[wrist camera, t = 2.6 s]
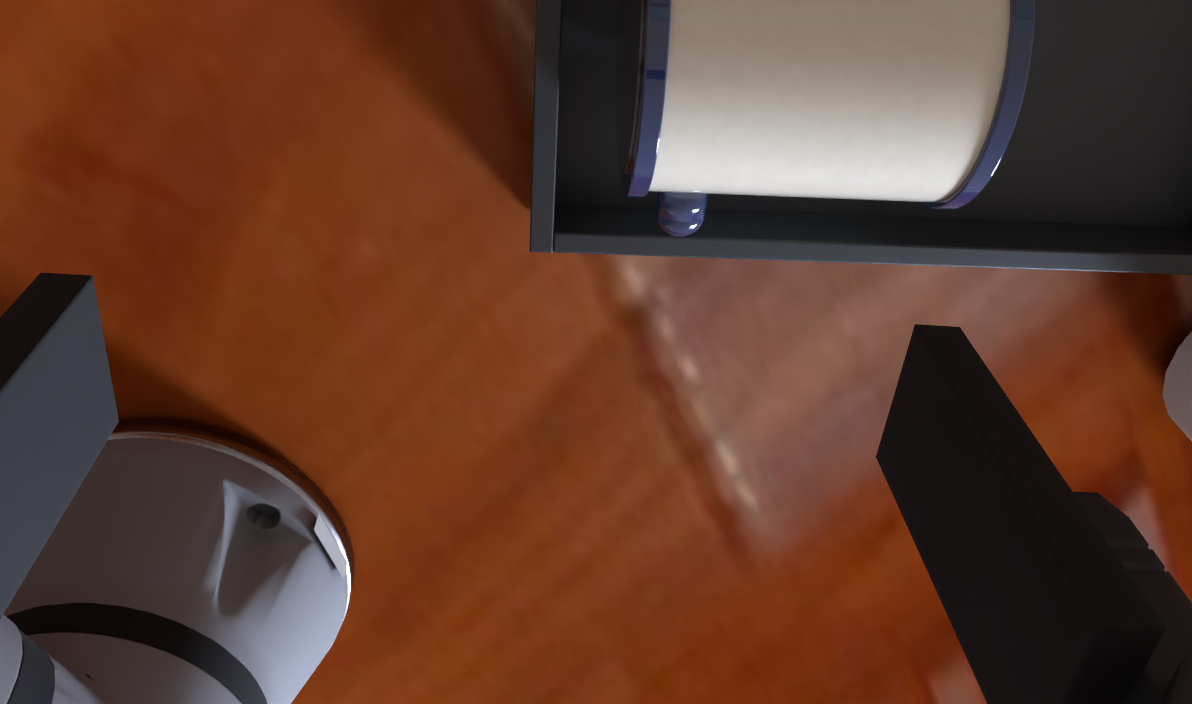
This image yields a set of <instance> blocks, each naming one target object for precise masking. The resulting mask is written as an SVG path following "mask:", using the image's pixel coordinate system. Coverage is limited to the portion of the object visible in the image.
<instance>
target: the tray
mask: <svg viewBox="0 0 1192 704" xmlns="http://www.w3.org/2000/svg"><path fill="white" fill-rule="evenodd" d="M620 4H621V0H536V32H535V69H534V107H533V144H532V182H531V219H530V252H547V253H551V252H552V251H553V252H556V253H585V254H613V255H642V256H671V257H699V258H728V259H757V260H785V261H814V262H843V263H871V264H900V265H929V266H957V267H986V268H1015V269H1043V270H1072V271H1101V272H1129V273H1158V274H1187V275H1192V0H1035V25H1034V38H1033V47H1032V55H1031V62H1030V68H1029V73H1028V79H1027V84H1026V89H1025V93H1024V97H1023V101H1022V105H1021V109H1020V112H1019V115H1018V118H1017V121H1016V125H1015V128H1014V131H1013V133H1012V136H1011V138H1010V141H1009V143H1008V146H1007V149H1006V151H1005V153H1004V155H1003V157H1002V159H1001V161H1000V163H999V165H998V167H997V169H996V170H995V172H994V174H993V175H992V177H991V179H990V180H989V181H988V183H987V184H986V186H985V187H984V188H983V190H982V191H981V192H980V193H979V194H978V195H977V196H976V197H975V198H974V199H973V200H971V201H970V202H969V203H967V204H966V205H964V206H961V207H959V208H956V209H949V210H945V209H931V208H927V207H925V206H923V205H922V204H920V203H918V202H909V201H884V200H858V199H832V198H807V197H781V196H755V195H729V194H708V198H707V206H706V215H705V219H704V221H703V223H702V225H701V226H700V228H699V229H698V230H697V231H695V232H694V233H692V234H690V235H687V236H674V235H671V234H669V233H667V232H666V231H664V230H663V229H662V227H661V226H660V225H659V223H658V221H657V218H656V202H657V192H652V191H648V193H647V195H646V196H645V197H643V198H633V197H625V196H624V195H623V192H622V189H621V184H620V176H619V168H618V159H617V142H616V84H617V55H618V35H619V18H620Z"/></svg>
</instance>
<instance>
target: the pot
mask: <svg viewBox="0 0 1192 704" xmlns="http://www.w3.org/2000/svg"><path fill="white" fill-rule="evenodd" d="M1034 25H1035V0H621V4H620V18H619V35H618V55H617V84H616V142H617V159H618V168H619V176H620V184H621V189H622V192H623V195H624V196H625V197H633V198H643V197H645V196H646V195H647V193H648V191H652V192H657V202H656V218H657V221H658V223H659V225H660V226H661V227H662V229H663V230H664V231H666V232H667V233H669V234H671V235H674V236H687V235H690V234H692V233H694V232H695V231H697V230H698V229H699V228H700V226H701V225H702V223H703V221H704V219H705V215H706V206H707V198H708V194H729V195H755V196H781V197H807V198H832V199H858V200H884V201H909V202H918V203H920V204H922V205H923V206H925V207H927V208H931V209H945V210H949V209H956V208H959V207H961V206H964V205H966V204H967V203H969V202H970V201H971V200H973V199H974V198H975V197H976V196H977V195H978V194H979V193H980V192H981V191H982V190H983V188H984V187H985V186H986V184H987V183H988V181H989V180H990V179H991V177H992V175H993V174H994V172H995V170H996V169H997V167H998V165H999V163H1000V161H1001V159H1002V157H1003V155H1004V153H1005V151H1006V149H1007V146H1008V143H1009V141H1010V138H1011V136H1012V133H1013V131H1014V128H1015V125H1016V121H1017V118H1018V115H1019V112H1020V109H1021V105H1022V101H1023V97H1024V93H1025V89H1026V84H1027V79H1028V73H1029V68H1030V62H1031V55H1032V47H1033V38H1034Z"/></svg>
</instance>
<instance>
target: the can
mask: <svg viewBox="0 0 1192 704" xmlns="http://www.w3.org/2000/svg"><path fill="white" fill-rule="evenodd" d="M1163 398H1164V402H1165V405H1166V409H1167V412H1168V415H1169V416H1170V417H1171V419H1172V420H1173V421H1174V422H1175V423H1176V424H1177V425H1178V426H1179V428H1180V429H1181V430H1182V431H1183V432H1184V433H1185V434H1186V436H1187V437H1188V438H1189V439H1190V440H1191V441H1192V332H1191V333H1190V334H1189V335H1188V336H1187V337H1186V338H1185V340H1184V341H1183V343H1182V344H1181V345H1180V346H1179V347H1178V349H1177V351H1176V353H1175V355H1174V357H1173V359H1172V361H1171V363H1170V364H1169V366H1168V368H1167V370H1166V374H1165V381H1164V388H1163Z"/></svg>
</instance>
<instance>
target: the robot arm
mask: <svg viewBox="0 0 1192 704" xmlns="http://www.w3.org/2000/svg"><path fill="white" fill-rule="evenodd" d="M876 458H877V460H878V463H879V465H880V467H881V469H882V471H883V474H884V476H885V478H886V480H887V482H888V485H889V487H890V489H891V491H892V494H893V496H894V498H895V500H896V502H897V505H898V507H899V509H900V511H901V513H902V516H903V518H904V520H905V522H906V524H907V527H908V529H909V531H910V533H911V536H912V538H913V540H914V542H915V544H916V547H917V549H918V551H919V553H920V555H921V558H922V560H923V562H924V564H925V567H926V569H927V571H928V573H929V575H930V578H931V580H932V582H933V584H934V586H935V589H936V591H937V593H938V595H939V598H940V600H941V602H942V604H943V606H944V609H945V611H946V613H947V615H948V617H949V620H950V622H951V624H952V626H953V629H954V631H955V633H956V635H957V637H958V640H959V642H960V644H961V646H962V648H963V651H964V653H965V655H966V657H967V660H968V662H969V664H970V666H971V668H972V671H973V673H974V675H975V677H976V679H977V682H978V684H979V686H980V688H981V691H982V693H983V695H984V697H985V699H986V702H987V704H1192V603H1191V602H1190V600H1189V599H1188V597H1187V596H1186V595H1185V593H1184V592H1183V591H1182V589H1181V588H1180V587H1179V585H1178V584H1177V582H1176V581H1175V580H1174V578H1173V577H1172V576H1171V574H1170V573H1169V572H1165V571H1164V567H1165V566H1164V565H1163V563H1162V562H1161V561H1160V559H1159V558H1158V557H1157V555H1156V554H1155V552H1154V551H1153V550H1150V549H1148V543H1147V542H1146V540H1145V539H1144V537H1143V536H1142V535H1141V533H1140V532H1139V531H1138V529H1137V528H1136V527H1135V525H1134V524H1133V522H1132V521H1131V520H1130V518H1129V517H1128V516H1126V515H1125V514H1124V513H1123V512H1121V511H1120V510H1119V509H1117V508H1116V507H1115V506H1114V505H1112V504H1111V503H1110V502H1109V501H1107V500H1106V499H1105V498H1103V497H1102V496H1101V495H1100V494H1098V493H1090V492H1072V490H1071V489H1070V488H1069V486H1068V485H1067V483H1066V482H1065V480H1064V479H1063V477H1062V476H1061V474H1060V473H1059V471H1058V470H1057V469H1056V467H1055V466H1054V464H1053V463H1052V461H1051V460H1050V458H1049V457H1048V455H1047V454H1046V453H1045V451H1044V450H1043V448H1042V447H1041V445H1040V444H1039V442H1038V441H1037V439H1036V438H1035V436H1034V435H1033V434H1032V432H1031V431H1030V429H1029V428H1028V426H1027V425H1026V423H1025V422H1024V420H1023V419H1022V417H1021V416H1020V415H1019V413H1018V412H1017V410H1016V409H1015V407H1014V406H1013V404H1012V403H1011V401H1010V400H1009V398H1008V397H1007V396H1006V394H1005V393H1004V391H1003V390H1002V388H1001V387H1000V385H999V384H998V382H997V381H996V379H995V378H994V377H993V375H992V374H991V372H990V371H989V369H988V368H987V366H986V365H985V363H984V362H983V361H982V359H981V358H980V356H979V355H978V353H977V352H976V350H975V349H974V347H973V346H972V344H971V343H970V342H969V340H968V339H967V337H966V336H965V334H964V333H963V331H962V330H961V328H960V327H950V326H933V325H916V324H915V326H914V330H913V333H912V336H911V340H910V343H909V347H908V350H907V353H906V357H905V360H904V364H903V367H902V370H901V374H900V377H899V381H898V384H897V387H896V391H895V394H894V398H893V401H892V404H891V408H890V411H889V415H888V418H887V421H886V425H885V428H884V431H883V435H882V438H881V442H880V445H879V448H878V452H877V455H876ZM353 579H354V556H353V550H352V545H351V542H350V538H349V535H348V533H347V530H346V528H345V526H344V523H343V521H342V520H341V518H340V516H339V514H338V513H337V511H336V509H335V508H334V506H333V505H332V504H331V502H330V501H329V499H328V498H327V497H326V496H325V495H324V494H323V492H322V491H321V490H320V489H319V488H318V487H317V486H316V485H315V484H314V483H313V482H312V481H311V480H310V479H309V478H308V477H307V476H306V475H305V474H303V473H302V472H301V471H299V470H298V469H297V468H296V467H294V466H293V465H292V464H290V463H289V462H287V461H286V460H284V459H283V458H281V457H280V456H278V455H277V454H275V453H273V452H271V451H270V450H268V449H266V448H264V447H262V446H260V445H258V444H256V443H254V442H252V441H249V440H247V439H245V438H242V437H240V436H237V435H234V434H232V433H229V432H226V431H223V430H219V429H216V428H212V427H209V426H204V425H199V424H195V423H189V422H182V421H175V420H162V419H132V420H122V421H119V418H118V412H117V407H116V401H115V396H114V390H113V385H112V380H111V374H110V369H109V363H108V358H107V352H106V347H105V341H104V336H103V330H102V325H101V320H100V314H99V309H98V303H97V298H96V292H95V287H94V281H93V276H88V275H71V274H54V273H40V274H39V275H38V276H37V277H36V279H35V280H34V281H33V282H32V283H31V284H30V285H29V286H28V287H27V289H26V290H25V291H24V292H23V293H22V294H21V295H20V296H19V298H18V299H17V300H16V301H15V302H14V303H13V304H12V305H11V306H10V308H9V309H8V310H7V311H6V312H5V313H4V314H3V315H2V316H1V318H0V704H291V703H292V701H293V700H294V698H295V697H296V696H297V694H298V693H299V691H300V690H301V689H302V687H303V686H304V684H305V683H306V682H307V680H308V679H309V677H310V676H311V675H312V673H313V672H314V670H315V669H316V668H317V666H318V665H319V663H320V662H321V661H322V659H323V658H324V656H325V655H326V653H327V652H328V651H329V649H330V648H331V646H332V644H333V642H334V640H335V638H336V636H337V634H338V632H339V629H340V627H341V625H342V622H343V620H344V617H345V615H346V611H347V608H348V604H349V599H350V595H351V590H352V586H353Z"/></svg>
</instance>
